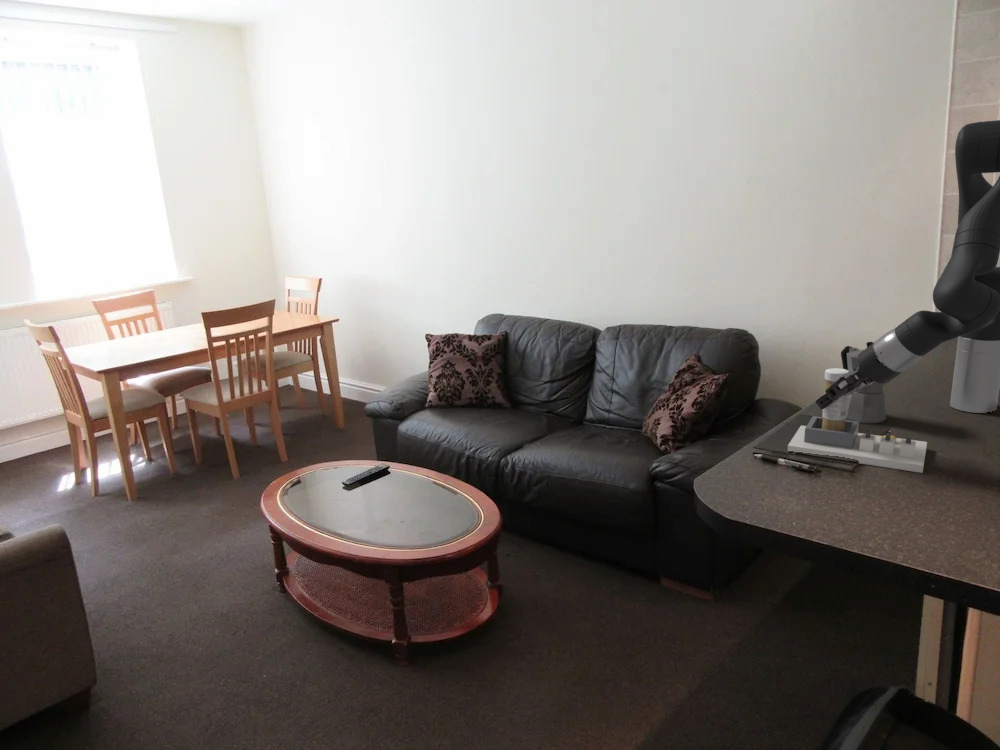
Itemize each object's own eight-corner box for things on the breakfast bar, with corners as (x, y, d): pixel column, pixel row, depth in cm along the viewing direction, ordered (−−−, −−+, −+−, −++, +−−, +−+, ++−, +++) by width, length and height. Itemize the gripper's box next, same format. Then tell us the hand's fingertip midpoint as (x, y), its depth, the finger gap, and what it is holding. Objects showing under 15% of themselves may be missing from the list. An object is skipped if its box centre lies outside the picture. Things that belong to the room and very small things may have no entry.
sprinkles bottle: (832, 427, 148) (837, 366, 145) (850, 434, 144) (855, 371, 141) (815, 431, 147) (820, 369, 144) (832, 437, 143) (837, 374, 139)
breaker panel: (800, 431, 155) (802, 409, 154) (926, 448, 142) (929, 425, 141) (787, 452, 144) (788, 428, 142) (922, 472, 131) (925, 447, 130)
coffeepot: (902, 423, 157) (911, 345, 152) (866, 428, 155) (874, 349, 151) (854, 404, 172) (860, 333, 167) (820, 408, 170) (826, 336, 165)
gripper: (895, 334, 139) (831, 381, 151) (859, 345, 130) (795, 395, 143) (921, 364, 136) (854, 410, 148) (886, 378, 128) (818, 425, 140)
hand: (825, 402), depth 146 cm, fingers closed on sprinkles bottle, 4 cm apart
